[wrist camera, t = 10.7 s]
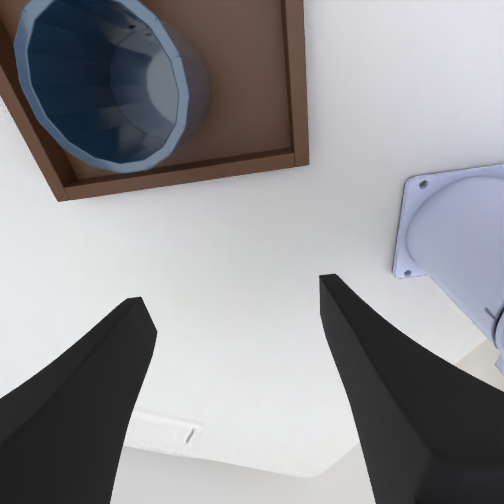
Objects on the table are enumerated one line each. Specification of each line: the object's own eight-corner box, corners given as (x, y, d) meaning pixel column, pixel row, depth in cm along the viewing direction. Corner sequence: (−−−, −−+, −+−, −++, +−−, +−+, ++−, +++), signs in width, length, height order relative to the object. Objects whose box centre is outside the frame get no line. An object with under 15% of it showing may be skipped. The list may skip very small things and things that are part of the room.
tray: (287, -172, 11) (295, -223, 9) (303, 157, 17) (309, 165, 15) (-62, -90, 12) (-117, -120, 10) (76, 191, 18) (57, 202, 17)
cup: (220, 135, 16) (205, 161, 11) (129, 150, 17) (68, 182, 11) (182, -68, 12) (121, -203, 6) (60, -42, 12) (-97, -147, 7)
